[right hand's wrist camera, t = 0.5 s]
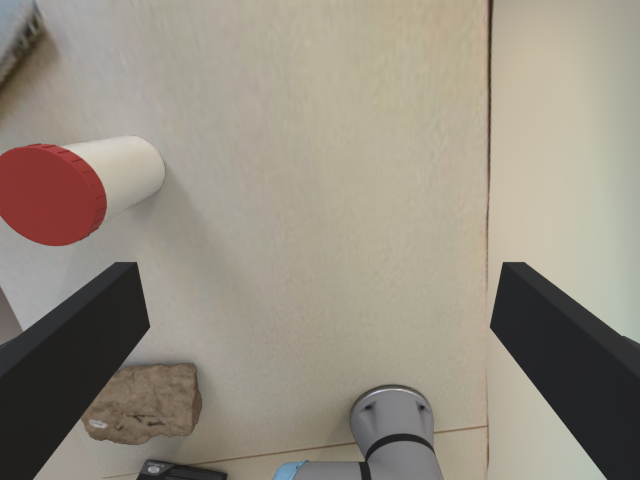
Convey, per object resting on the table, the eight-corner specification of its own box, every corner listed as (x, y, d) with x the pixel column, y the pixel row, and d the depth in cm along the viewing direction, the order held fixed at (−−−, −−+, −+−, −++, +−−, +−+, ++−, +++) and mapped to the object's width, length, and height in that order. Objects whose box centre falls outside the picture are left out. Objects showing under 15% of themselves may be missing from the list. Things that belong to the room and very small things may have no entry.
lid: (1, 216, 36) (-18, 223, 34) (13, 125, 33) (-7, 127, 31) (97, 252, 37) (84, 261, 35) (117, 169, 34) (104, 173, 32)
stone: (82, 434, 63) (65, 459, 57) (76, 357, 61) (56, 375, 55) (204, 422, 67) (198, 445, 61) (201, 349, 65) (195, 365, 59)
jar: (96, 182, 50) (-8, 219, 34) (109, 124, 47) (3, 134, 31) (156, 206, 51) (83, 253, 35) (172, 151, 48) (101, 175, 33)
